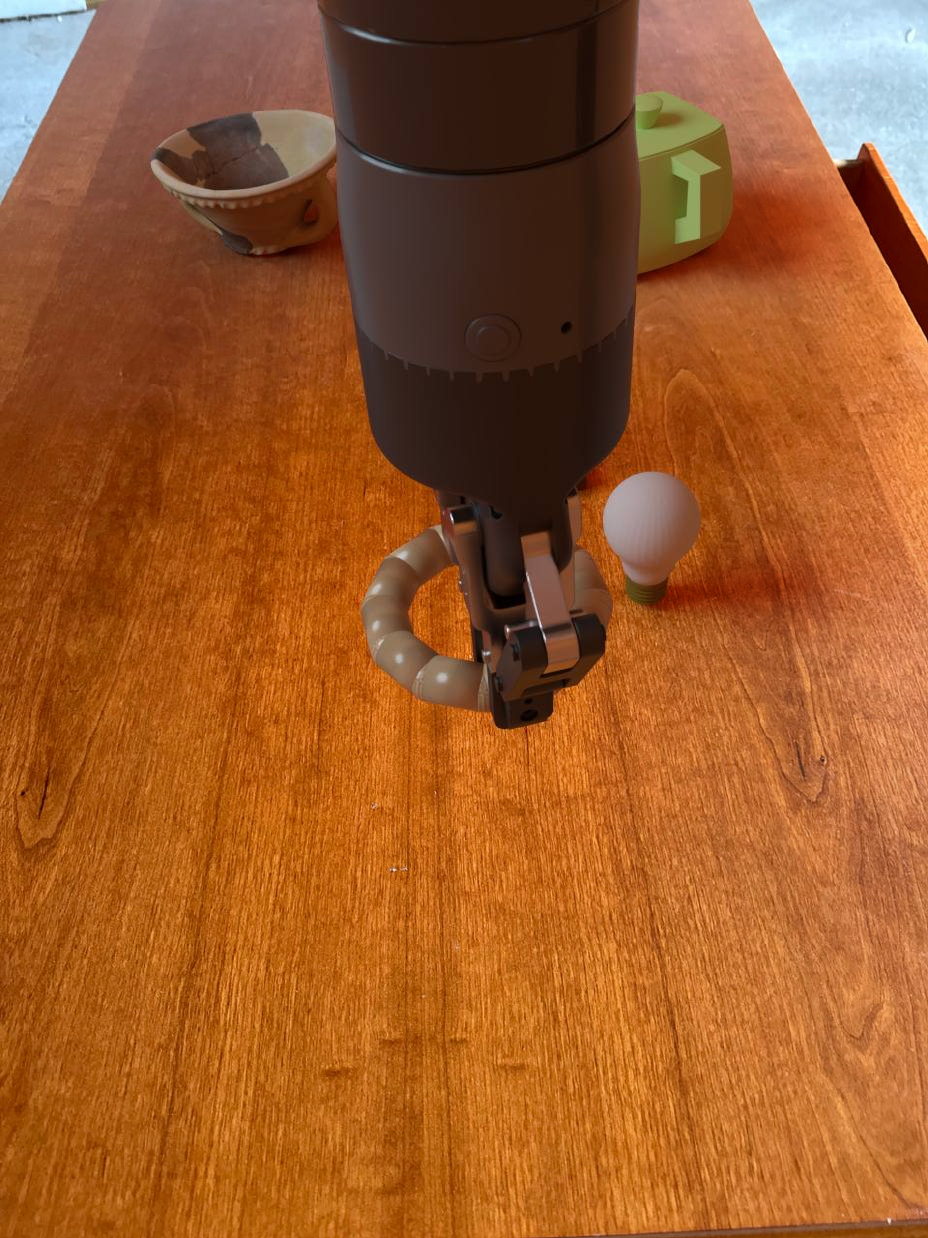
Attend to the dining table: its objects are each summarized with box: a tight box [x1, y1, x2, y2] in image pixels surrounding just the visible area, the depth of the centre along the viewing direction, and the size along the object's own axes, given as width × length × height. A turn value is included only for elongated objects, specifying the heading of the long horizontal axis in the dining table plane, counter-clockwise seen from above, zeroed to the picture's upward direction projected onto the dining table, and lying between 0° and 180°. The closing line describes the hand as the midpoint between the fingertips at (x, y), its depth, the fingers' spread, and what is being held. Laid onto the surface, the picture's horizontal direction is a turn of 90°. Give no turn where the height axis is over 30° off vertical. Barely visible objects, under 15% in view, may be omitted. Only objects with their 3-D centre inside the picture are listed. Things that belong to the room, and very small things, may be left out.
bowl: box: [150, 109, 339, 256], centre depth 106 cm, size 18×18×10 cm
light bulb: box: [602, 470, 702, 606], centre depth 71 cm, size 6×6×10 cm
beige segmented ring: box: [360, 523, 614, 714], centre depth 45 cm, size 10×10×2 cm
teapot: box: [635, 90, 734, 275], centre depth 99 cm, size 18×20×13 cm
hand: (512, 690), depth 43 cm, fingers closed on beige segmented ring, 2 cm apart
